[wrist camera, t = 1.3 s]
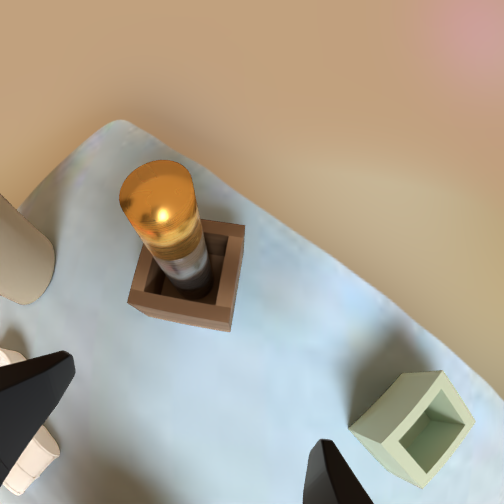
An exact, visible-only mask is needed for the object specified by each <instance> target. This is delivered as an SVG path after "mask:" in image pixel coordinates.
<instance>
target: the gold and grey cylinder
mask: <svg viewBox="0 0 504 504" xmlns="http://www.w3.org/2000/svg"><path fill="white" fill-rule="evenodd" d="M119 201H120V206H121V208H122V210H123V212H124V213H125V215H126V216H127V218H128V220H129V221H130V223H131V224H132V226H133V227H134V229H135V230H136V232H137V234H138V235H139V237H140V238H141V240H142V241H143V243H144V244H145V246H146V247H147V249H148V250H149V251H150V253H151V254H152V256H153V257H154V259H155V260H156V262H157V263H158V265H159V266H160V267H161V269H162V270H163V272H164V273H165V274H166V276H167V277H168V279H169V280H170V281H171V283H172V284H173V285H174V287H175V288H176V290H177V291H178V292H179V294H180V295H181V296H183V297H184V298H186V299H189V300H199V299H202V298H204V297H205V296H207V295H208V294H209V293H210V291H211V290H212V288H213V284H214V277H213V272H212V268H211V264H210V260H209V256H208V251H207V247H206V243H205V238H204V234H203V229H202V225H201V220H200V216H199V211H198V206H197V202H196V197H195V192H194V187H193V182H192V178H191V175H190V173H189V171H188V170H187V169H186V168H185V167H184V166H183V165H181V164H179V163H177V162H174V161H170V160H157V161H152V162H149V163H146V164H144V165H142V166H140V167H138V168H137V169H135V170H134V171H133V172H132V173H131V174H130V175H129V176H128V177H127V178H126V180H125V181H124V183H123V185H122V187H121V190H120V194H119Z"/></svg>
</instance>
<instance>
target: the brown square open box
mask: <svg viewBox="0 0 504 504" xmlns="http://www.w3.org/2000/svg"><path fill="white" fill-rule="evenodd" d="M200 220H201V225H202V229H203V234H204V238H205V243H206V247H207V251H208V256H209V260H210V264H211V268H212V272H213V277H214V284H213V288H212V290H211V291H210V293H209V294H208V295H207V296H205V297H204V298H202V299H199V300H189V299H186V298H184V297H183V296H181V295H180V294H179V292H178V291H177V290H176V288H175V287H174V285H173V284H172V283H171V281H170V280H169V279H168V277H167V276H166V274H165V273H164V272H163V270H162V269H161V267H160V266H159V265H158V263H157V262H156V260H155V259H154V257H153V256H152V254H151V253H150V251H149V250H148V249H147V247H146V246H145V244H144V243H143V247H142V250H141V253H140V257H139V260H138V263H137V267H136V270H135V274H134V278H133V281H132V285H131V289H130V293H129V297H128V301H127V303H128V304H130V305H131V306H133V307H134V308H136V309H138V310H139V311H141V312H142V313H144V314H145V315H147V316H149V317H154V318H158V319H163V320H167V321H172V322H177V323H182V324H187V325H192V326H197V327H203V328H208V329H214V330H219V331H225V332H230V331H231V325H232V318H233V312H234V306H235V300H236V294H237V288H238V282H239V276H240V270H241V264H242V258H243V251H244V235H245V225H239V224H232V223H225V222H218V221H211V220H204V219H200Z"/></svg>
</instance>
